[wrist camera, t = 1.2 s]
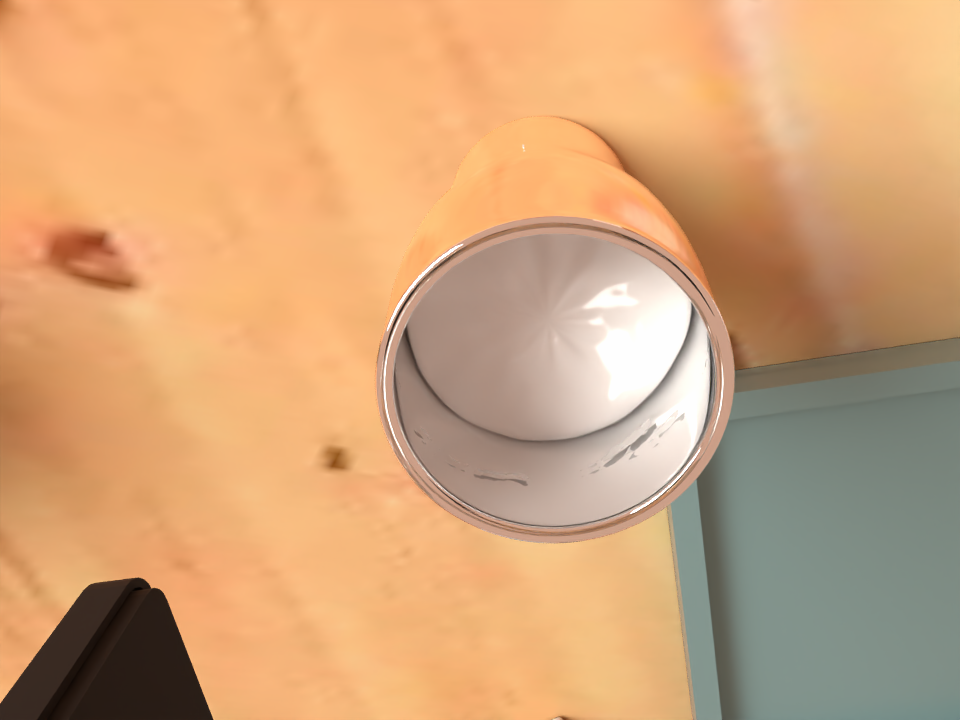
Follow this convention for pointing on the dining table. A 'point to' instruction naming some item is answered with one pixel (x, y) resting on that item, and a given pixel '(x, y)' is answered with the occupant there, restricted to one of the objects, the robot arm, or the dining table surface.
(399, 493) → the dining table surface
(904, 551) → the tray
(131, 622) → the robot arm
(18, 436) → the dining table surface
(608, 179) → the beer glass
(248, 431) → the dining table surface
